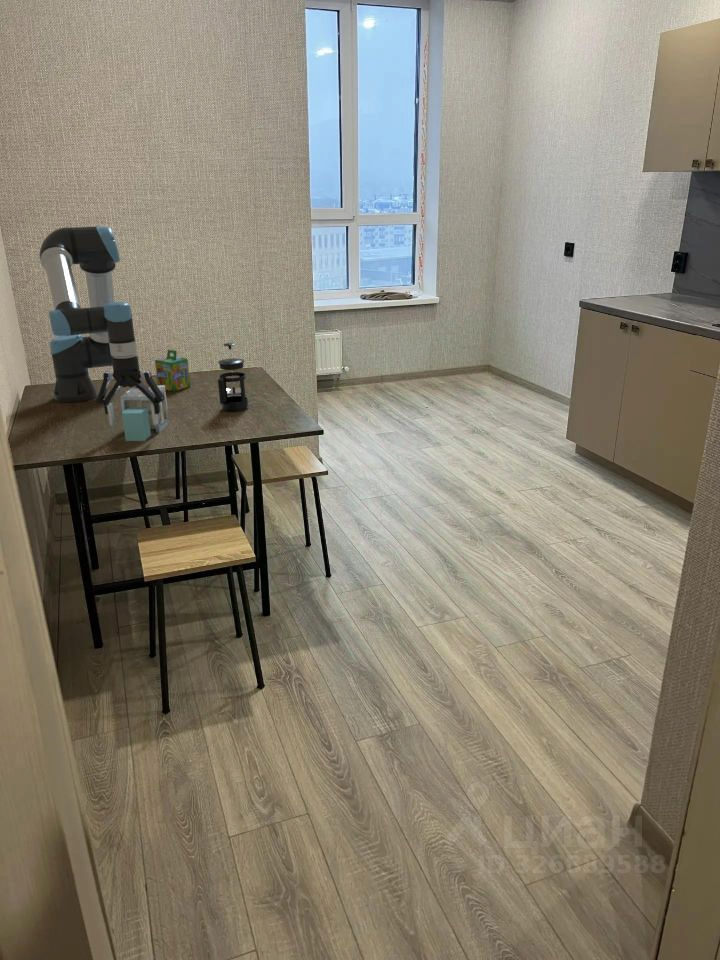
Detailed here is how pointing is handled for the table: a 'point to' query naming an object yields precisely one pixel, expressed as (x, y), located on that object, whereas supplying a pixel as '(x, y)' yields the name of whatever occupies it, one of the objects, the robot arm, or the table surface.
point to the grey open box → (135, 394)
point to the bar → (148, 405)
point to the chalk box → (172, 372)
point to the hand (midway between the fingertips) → (134, 424)
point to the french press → (233, 401)
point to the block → (136, 424)
